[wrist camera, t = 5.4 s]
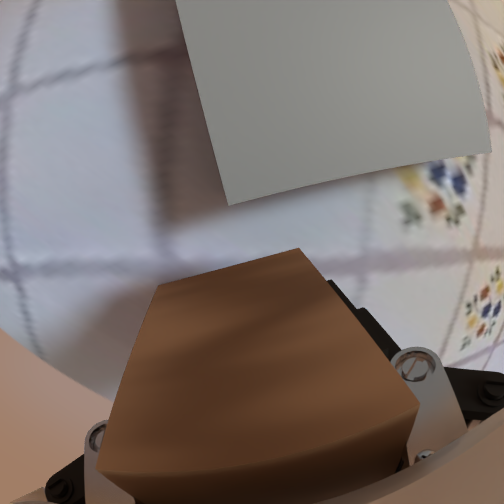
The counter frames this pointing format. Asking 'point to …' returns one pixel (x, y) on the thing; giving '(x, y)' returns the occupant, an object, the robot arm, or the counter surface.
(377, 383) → the walnut block
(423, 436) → the robot arm
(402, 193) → the counter surface
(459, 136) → the pedestal
